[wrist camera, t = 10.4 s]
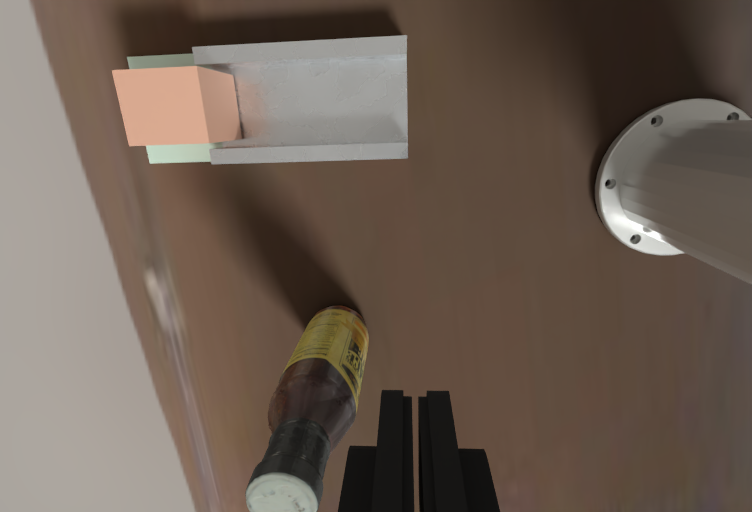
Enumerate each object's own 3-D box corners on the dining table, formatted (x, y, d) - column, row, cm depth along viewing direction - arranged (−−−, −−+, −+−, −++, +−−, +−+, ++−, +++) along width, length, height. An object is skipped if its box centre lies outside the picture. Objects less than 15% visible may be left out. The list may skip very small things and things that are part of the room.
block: (233, 75, 32) (196, 65, 27) (242, 139, 34) (209, 143, 28) (162, 78, 33) (111, 70, 27) (174, 141, 34) (129, 146, 29)
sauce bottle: (366, 359, 41) (334, 562, 22) (307, 351, 41) (225, 545, 22) (374, 302, 39) (344, 473, 20) (310, 294, 39) (223, 456, 20)
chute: (406, 42, 31) (406, 35, 28) (407, 155, 34) (407, 158, 31) (210, 53, 33) (191, 46, 30) (226, 160, 35) (211, 164, 32)
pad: (210, 53, 33) (208, 52, 32) (226, 160, 35) (225, 161, 35) (129, 57, 33) (126, 56, 33) (151, 163, 36) (149, 163, 36)
